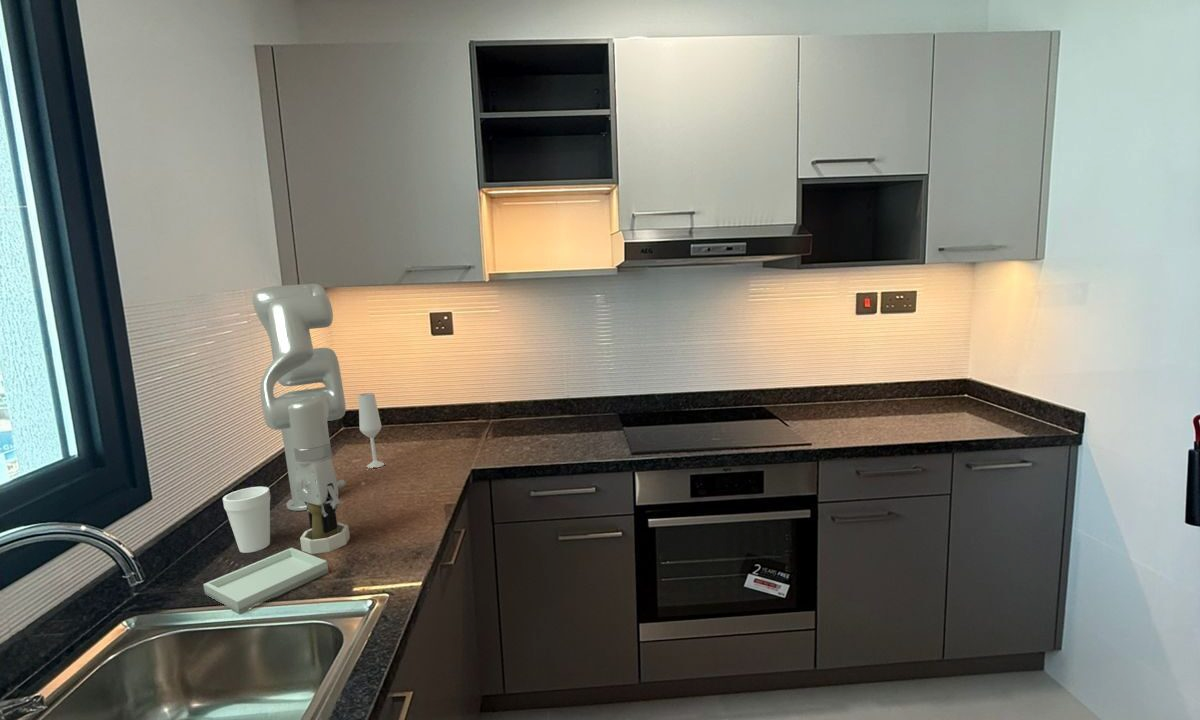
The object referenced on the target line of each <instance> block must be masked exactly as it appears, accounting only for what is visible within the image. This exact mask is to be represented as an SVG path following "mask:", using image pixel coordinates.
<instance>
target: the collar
mask: <svg viewBox="0 0 1200 720" xmlns="http://www.w3.org/2000/svg"><path fill="white" fill-rule="evenodd" d="M337 531H338V534H335V535H333V536H331V537H328V538H322V539H315V540H312V528H310V529H307V530H305V531H304V532H303V533H302V535H301V536H300V538H299V540H300V548H301V551H302V552H304V553H307V554H310V555H314V554H321V553H322V554H323V553H329V552H333V551H334V550H337V549H339V548H342V547H343V546H346V545H347V543H348V542H349V540H350V538H351V536H350V529H349V525H348V524H345V523H342V522H338V521H337Z"/></svg>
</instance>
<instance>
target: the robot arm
mask: <svg viewBox="0 0 1200 720" xmlns="http://www.w3.org/2000/svg"><path fill="white" fill-rule="evenodd" d="M252 304H253V307H254V311H255V314H256V316H257V318H258V320H259V322H260V323H261V325H262V327H263V328H264V330H265V331H266V333H267V337H268V338H269V341H270V342H269V343H270V349H271V354H272V362H271V363H270V364H269V365H268V366H267V368H266V370H265V372H264V373H263V375H262V378H261V381H260V384H259V385H260V388H259V393H260V401H261V407H262V415H263V418H264V419H263V420H264V422H265V424H266V426H267V427H268V428H269V429H271V430H274V431H278V430H280V432H281V437H282V441H283V447H284V455H285V460H286V461H285V462H286V468H287V473H288V482H289V487H290V495H291V498H290V499H289V500H288V501H286V508H287V509H288V510H291V511H296V512H297V511H299V512H300V511H306V512H308V519H309V520H308V521H309V527H310V529H312V514H311V513H310V511H309V508H308V506H309V503H310V504H314V505H318V506H320V507H321V510H322V514H323V516H321V519H322V526H323V532H324V533H328V532H330V531H333V530H335V529H337V523H338V521H337V514H336V513H337V512H338V511H337V509H338V507H339V506H340V505H341V501H340V500H339V489H340V488H342V487H345V485H346V481H345V480H344V479H340V480H338V479H337V475H336V470H335V467H334V464H333V460H332V456H333V455H332V449H331V447H332V446H331V440H330V433H329V427H328V422H329V421H337V420H340V419H342V418H343V417H344V416H345V414H346V408H347V407H346V398H345V393H344V392H345V391H344V388H343V381H342V380H343V379H342V375H341V374H342V373H341V368H340V364H339V359H338V356H337V354H336V353H335V351H334V350H333V349H332V348H329V347H315V348H314V347H313V341H312V336H311V333H310V330H313V329H324V328H329V327H330V326H331V325H332V323H333V321H334V320H333V318H334V313H333V307H332V303H331V300H330V299H329V297H328V294H327V293H326V290H325V288H324V287H323V286H322V285H321V284H318V283H306V284H304V283H303V284H302V283H301V284H290V285H273V286H272V285H271V286H267V287H262V288H259V289H257V290H255V291H254V293H253V294H252ZM277 382H278V383H279V384H280V385H281V386H285V387H296V386H304V385H305V386H306V385H312V384H313V385H314V384H318V383H321V384H323V385H324V386H322V387H316V388H306V389H299V390H294V391H293V390H291V391H288V392H285V393H282V394H280V395H279V396H277V397H275V396H274V394H275V393H274V387H275V384H276V383H277ZM327 498H329V500H328V501H326V499H327ZM329 503H330V505H329V506H328V507H327V509H326V506H325V505H326V504H329Z"/></svg>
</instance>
